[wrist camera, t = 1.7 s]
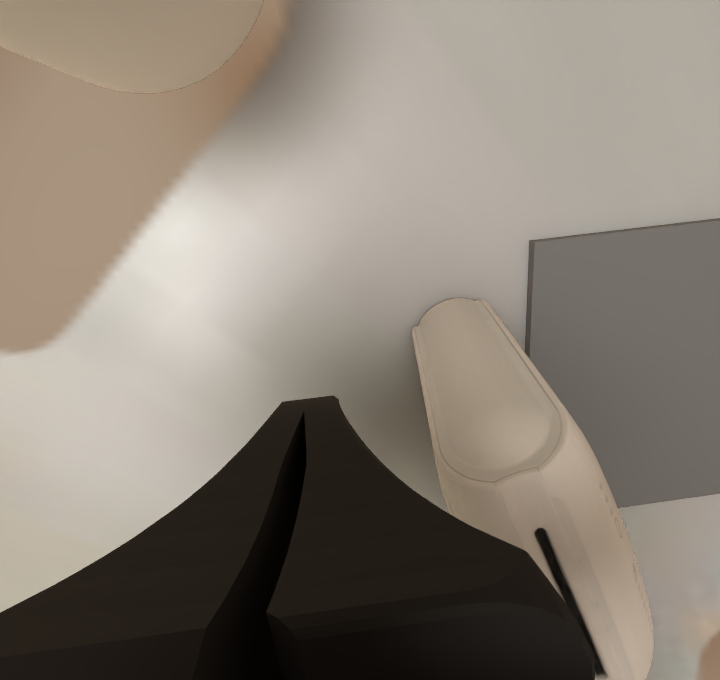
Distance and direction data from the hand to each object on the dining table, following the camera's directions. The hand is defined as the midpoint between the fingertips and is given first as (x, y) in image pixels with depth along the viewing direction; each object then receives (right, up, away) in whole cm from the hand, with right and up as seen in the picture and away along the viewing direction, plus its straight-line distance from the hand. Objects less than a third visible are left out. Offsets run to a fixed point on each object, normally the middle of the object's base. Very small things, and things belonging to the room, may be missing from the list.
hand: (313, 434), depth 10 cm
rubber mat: (+16, 0, +12) cm, 20 cm away
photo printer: (+7, 0, +12) cm, 14 cm away
